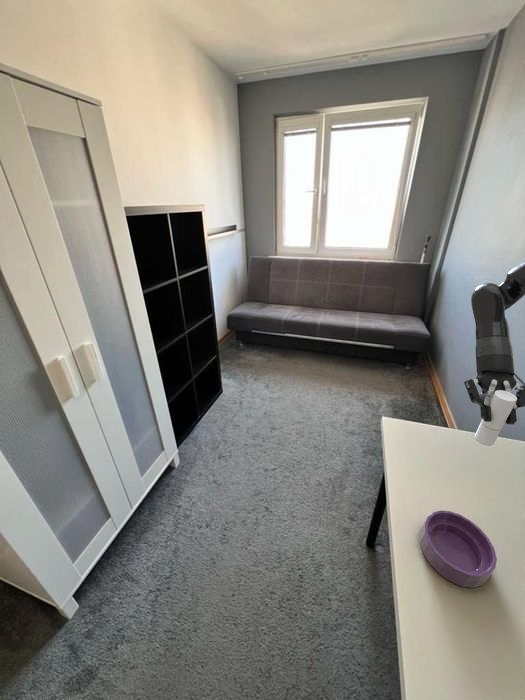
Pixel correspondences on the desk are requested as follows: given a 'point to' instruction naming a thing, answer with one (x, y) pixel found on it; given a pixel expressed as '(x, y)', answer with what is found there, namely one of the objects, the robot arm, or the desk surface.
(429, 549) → the bowl
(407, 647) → the desk surface
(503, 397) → the tube
